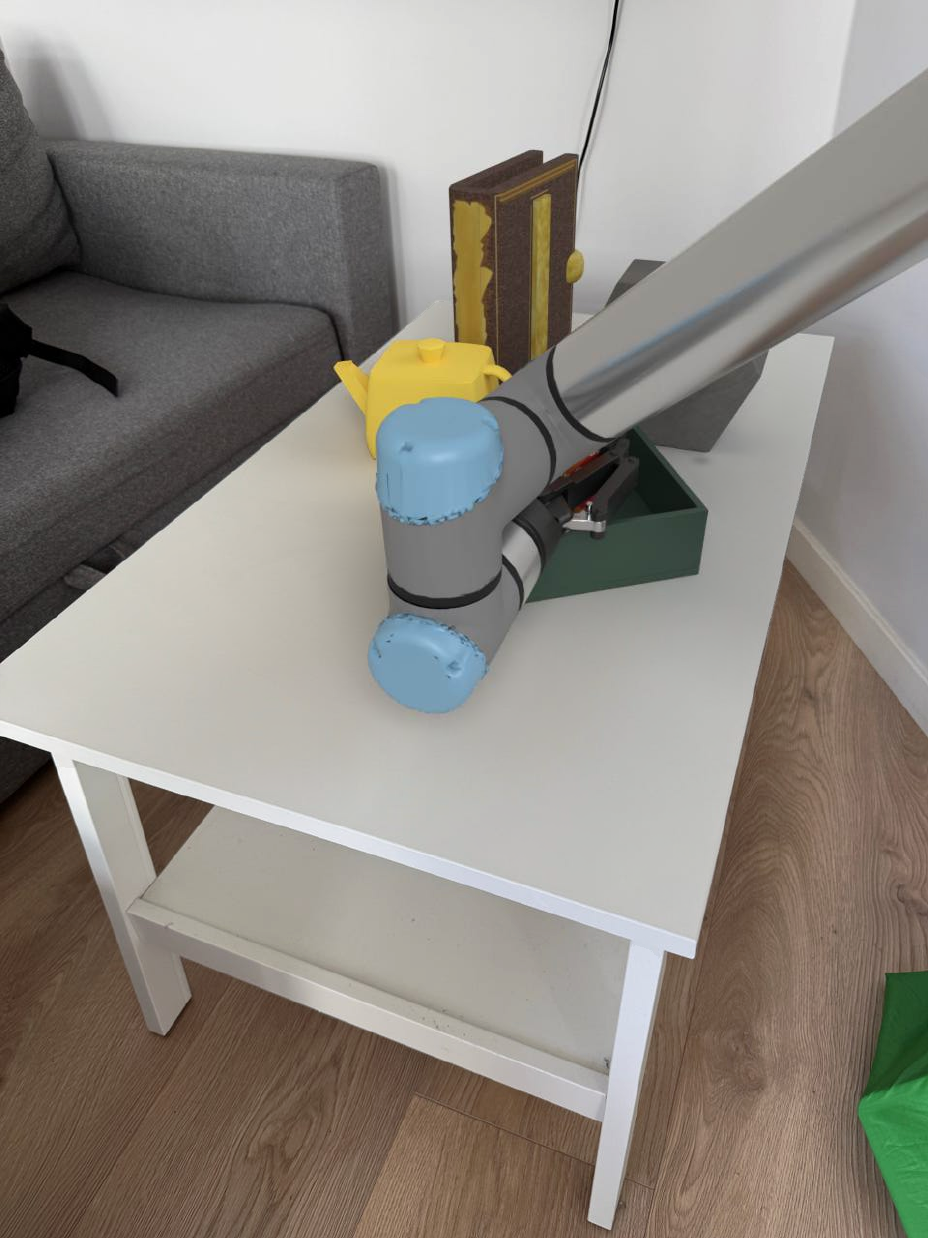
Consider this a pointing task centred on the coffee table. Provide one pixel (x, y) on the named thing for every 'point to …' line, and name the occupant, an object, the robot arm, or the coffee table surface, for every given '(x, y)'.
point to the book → (515, 256)
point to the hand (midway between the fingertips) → (582, 421)
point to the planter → (707, 408)
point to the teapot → (420, 377)
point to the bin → (633, 535)
